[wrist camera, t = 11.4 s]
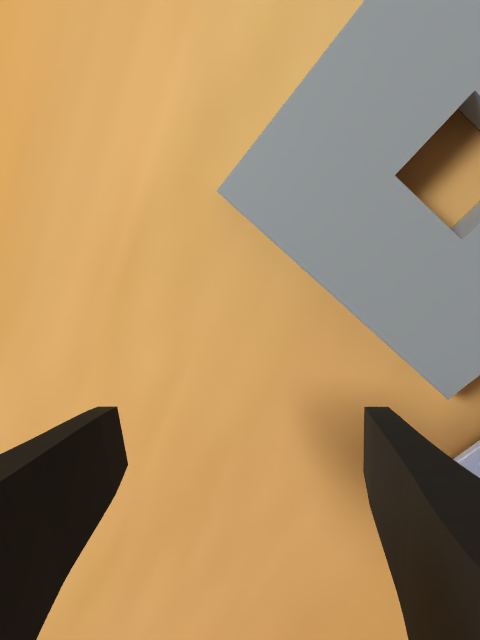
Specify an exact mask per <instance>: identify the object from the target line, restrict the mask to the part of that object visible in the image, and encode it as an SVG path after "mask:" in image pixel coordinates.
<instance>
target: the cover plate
mask: <svg viewBox="0 0 480 640" xmlns="http://www.w3.org/2000/svg"><path fill="white" fill-rule="evenodd" d="M457 109H459V110H460V111H461V112H462V113H463V114H464V115H465V116H466V117H467V118H468V119H469V120H470V121H471V122H472V123H473V124H474V125H475V126H476V127H477V128H478V129H479V130H480V0H365V1H364V2H363V3H362V5H361V6H360V7H359V8H358V10H357V11H356V12H355V14H354V15H353V16H352V17H351V19H350V20H349V21H348V23H347V24H346V25H345V26H344V28H343V29H342V30H341V32H340V33H339V34H338V35H337V37H336V38H335V39H334V41H333V42H332V43H331V44H330V46H329V47H328V48H327V50H326V51H325V52H324V53H323V55H322V56H321V57H320V59H319V60H318V61H317V62H316V64H315V65H314V66H313V68H312V69H311V70H310V71H309V73H308V74H307V75H306V77H305V78H304V79H303V80H302V82H301V83H300V84H299V86H298V87H297V88H296V90H295V91H294V92H293V93H292V95H291V96H290V97H289V99H288V100H287V101H286V102H285V104H284V105H283V106H282V108H281V109H280V110H279V111H278V113H277V114H276V115H275V117H274V118H273V119H272V120H271V122H270V123H269V124H268V126H267V127H266V128H265V129H264V131H263V132H262V133H261V135H260V136H259V137H258V138H257V140H256V141H255V142H254V144H253V145H252V146H251V147H250V149H249V150H248V151H247V153H246V154H245V155H244V156H243V158H242V159H241V160H240V162H239V163H238V164H237V165H236V167H235V168H234V169H233V171H232V172H231V173H230V175H229V176H228V177H227V178H226V180H225V181H224V182H223V184H222V185H221V186H220V187H219V189H218V190H217V192H218V193H219V194H220V195H221V196H223V197H224V198H225V199H226V200H227V201H228V202H229V203H230V204H231V205H233V206H234V207H235V208H236V209H237V210H238V211H239V212H240V213H241V214H243V215H244V216H245V217H246V218H247V219H248V220H249V221H250V222H251V223H253V224H254V225H255V226H256V227H257V228H258V229H259V230H260V231H261V232H263V233H264V234H265V235H266V236H267V237H268V238H269V239H270V240H271V241H273V242H274V243H275V244H276V245H277V246H278V247H279V248H280V249H281V250H283V251H284V252H285V253H286V254H287V255H288V256H289V257H290V258H291V259H293V260H294V261H295V262H296V263H297V264H298V265H299V266H300V267H301V268H303V269H304V270H305V271H306V272H307V273H308V274H309V275H310V276H311V277H313V278H314V279H315V280H316V281H317V282H318V283H319V284H320V285H321V286H323V287H324V288H325V289H326V290H327V291H328V292H329V293H330V294H331V295H333V296H334V297H335V298H336V299H337V300H338V301H339V302H340V303H341V304H343V305H344V306H345V307H346V308H347V309H348V310H349V311H350V312H351V313H353V314H354V315H355V316H356V317H357V318H358V319H359V320H360V321H361V322H363V323H364V324H365V325H366V326H367V327H368V328H369V329H370V330H371V331H372V332H374V333H375V334H376V335H377V336H378V337H379V338H380V339H381V340H382V341H384V342H385V343H386V344H387V345H388V346H389V347H390V348H391V349H392V350H394V351H395V352H396V353H397V354H398V355H399V356H400V357H401V358H402V359H404V360H405V361H406V362H407V363H408V364H409V365H410V366H411V367H412V368H414V369H415V370H416V371H417V372H418V373H419V374H420V375H421V376H422V377H424V378H425V379H426V380H427V381H428V382H429V383H430V384H431V385H432V386H434V387H435V388H436V389H437V390H438V391H439V392H440V393H441V394H442V395H444V396H445V397H446V398H447V399H450V398H451V397H452V396H454V395H455V394H456V393H457V392H459V391H460V390H461V389H463V388H464V387H465V386H466V385H468V384H469V383H470V382H471V381H473V380H474V379H475V378H477V377H478V376H479V375H480V202H479V203H478V204H477V205H476V206H475V207H474V208H473V209H471V210H470V211H469V212H468V213H467V214H466V215H465V216H464V217H463V218H462V219H461V220H460V221H459V222H458V223H457V224H456V225H455V226H454V227H453V228H451V229H450V228H449V227H448V226H447V225H446V224H445V223H444V222H443V221H442V220H441V219H440V218H439V217H438V216H437V215H436V214H435V213H433V212H432V211H431V210H430V209H429V208H428V207H427V206H426V205H425V204H424V203H423V202H422V201H421V200H420V199H419V198H418V197H417V196H416V195H415V194H414V193H413V192H412V191H411V190H409V189H408V188H407V187H406V186H405V185H404V184H403V183H402V182H401V181H400V180H399V179H398V178H397V177H396V176H395V175H396V174H397V173H398V171H399V170H400V169H401V168H402V167H403V166H404V165H405V164H406V163H407V162H408V161H409V160H410V159H411V158H412V157H413V156H414V154H415V153H416V152H417V151H418V150H419V149H420V148H421V147H422V146H423V145H424V144H425V143H426V142H427V141H428V140H429V138H430V137H431V136H432V135H433V134H434V133H435V132H436V131H437V130H438V129H439V128H440V127H441V126H442V125H443V124H444V123H445V121H446V120H447V119H448V118H449V117H450V116H451V115H452V114H453V113H454V112H455V111H456V110H457Z"/></svg>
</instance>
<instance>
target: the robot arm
mask: <svg viewBox="0 0 480 640" xmlns="http://www.w3.org/2000/svg"><path fill="white" fill-rule="evenodd" d="M127 466H128V462H127V456H126V451H125V446H124V440H123V435H122V430H121V425H120V419H119V414H118V409H117V407H96V408H94V409H91V410H89V411H86V412H84V413H82V414H80V415H78V416H76V417H74V418H72V419H70V420H68V421H66V422H64V423H62V424H60V425H58V426H56V427H54V428H52V429H50V430H48V431H47V432H45V433H43V434H41V435H39V436H37V437H35V438H33V439H31V440H29V441H27V442H25V443H23V444H21V445H19V446H16V447H14V448H12V449H10V450H8V451H6V452H4V453H2V454H0V640H36V639H37V637H38V635H39V632H40V630H41V628H42V626H43V624H44V622H45V620H46V618H47V615H48V613H49V611H50V609H51V607H52V605H53V603H54V601H55V599H56V597H57V595H58V593H59V591H60V589H61V587H62V585H63V583H64V581H65V579H66V577H67V576H68V574H69V572H70V570H71V568H72V567H73V565H74V563H75V562H76V560H77V558H78V557H79V555H80V553H81V552H82V550H83V548H84V547H85V545H86V543H87V542H88V540H89V538H90V537H91V535H92V533H93V532H94V530H95V529H96V527H97V525H98V524H99V522H100V520H101V519H102V517H103V515H104V513H105V512H106V510H107V508H108V507H109V505H110V503H111V501H112V500H113V498H114V496H115V494H116V492H117V490H118V487H119V485H120V483H121V481H122V478H123V476H124V473H125V471H126V468H127ZM363 471H364V476H365V482H366V488H367V493H368V498H369V503H370V507H371V511H372V514H373V517H374V520H375V524H376V527H377V530H378V533H379V537H380V540H381V543H382V546H383V549H384V552H385V556H386V559H387V562H388V565H389V568H390V571H391V575H392V578H393V581H394V584H395V587H396V590H397V594H398V598H399V601H400V605H401V609H402V612H403V617H404V621H405V626H406V630H407V635H408V639H409V640H480V440H479V441H478V442H476V443H475V444H474V445H472V446H471V447H469V448H468V449H467V450H465V451H464V452H462V453H461V454H460V455H458V456H457V457H456V458H454V459H452V458H450V457H449V456H448V455H446V454H445V453H444V452H442V451H441V450H440V449H438V448H437V447H436V446H435V445H433V444H432V443H431V442H429V441H428V440H427V439H426V438H424V437H423V436H422V435H421V434H420V433H418V432H417V431H416V430H415V429H414V428H412V427H411V426H410V425H409V424H408V423H407V422H405V421H404V420H403V419H402V418H401V417H400V416H398V415H397V414H396V413H395V412H394V411H392V410H391V409H390V408H389V407H365V411H364V470H363Z"/></svg>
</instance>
